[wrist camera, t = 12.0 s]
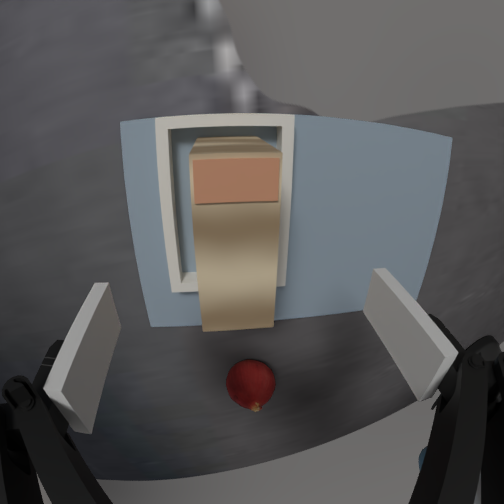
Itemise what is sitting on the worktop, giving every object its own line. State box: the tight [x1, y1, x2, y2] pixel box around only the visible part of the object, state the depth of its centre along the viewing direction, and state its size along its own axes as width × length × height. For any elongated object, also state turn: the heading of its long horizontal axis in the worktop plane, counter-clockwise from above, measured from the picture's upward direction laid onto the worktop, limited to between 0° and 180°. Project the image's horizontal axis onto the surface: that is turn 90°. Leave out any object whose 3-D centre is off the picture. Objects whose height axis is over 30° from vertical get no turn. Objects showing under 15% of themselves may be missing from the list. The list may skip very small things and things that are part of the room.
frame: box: [155, 113, 295, 293], centre depth 26 cm, size 11×16×2 cm
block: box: [189, 136, 283, 332], centre depth 22 cm, size 12×5×10 cm, turn 179°
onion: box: [226, 359, 276, 412], centre depth 33 cm, size 6×6×8 cm
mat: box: [120, 113, 452, 327], centre depth 29 cm, size 34×22×1 cm, turn 89°
